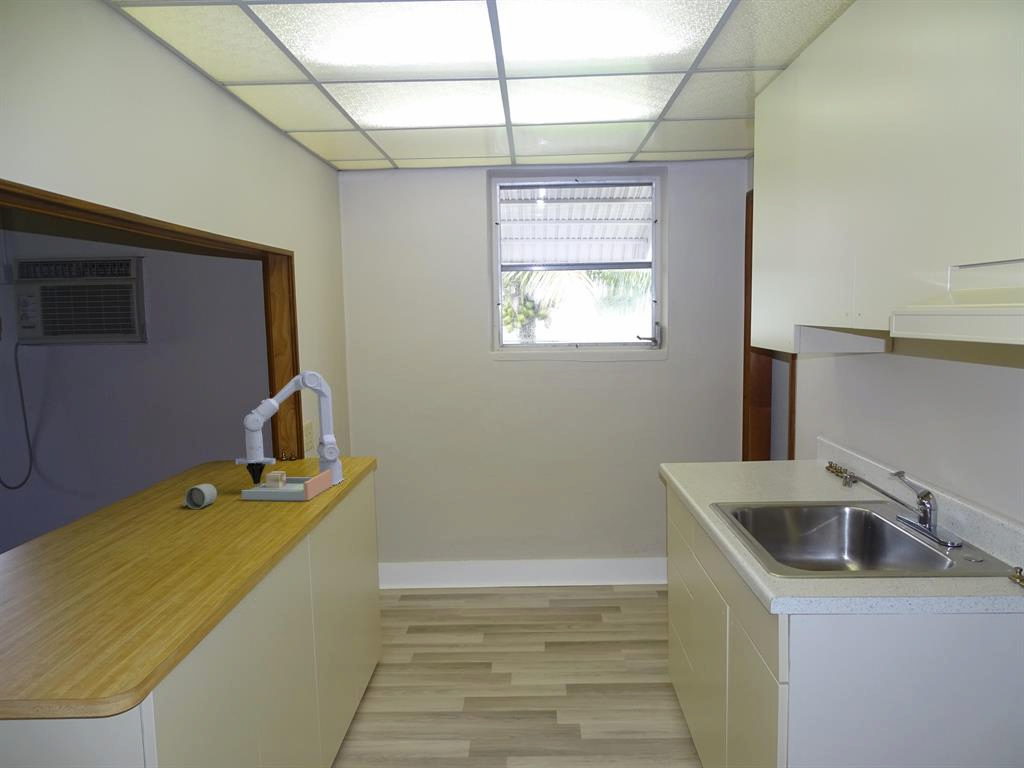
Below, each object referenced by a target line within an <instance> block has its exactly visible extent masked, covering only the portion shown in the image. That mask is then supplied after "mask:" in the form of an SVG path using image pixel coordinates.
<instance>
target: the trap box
mask: <svg viewBox="0 0 1024 768" xmlns="http://www.w3.org/2000/svg"><path fill="white" fill-rule="evenodd" d="M331 486H334V485H333V482H332V470H326V471H325V472H323V473H321V474H320V473H319V474H317V475H316V476H312V477H310V476H302V477H301V476H286V485H285V486H283V487H281V488H266V482H265V483H264V482H263V483H260V484H258V485H257V486H254V487H252V488H251V489H242V490H241V501H242V500H259V501H258V502H301V501H308V502H310V501H312V500H313V499H315V498H316V496H317V495H318V496H320V495H321V493H322V492H323V493H325V492H326V491H328V490H329V489H328V488H330V487H331ZM331 488H332V487H331ZM331 488H330V489H331ZM327 489H328V490H327ZM325 490H326V491H325ZM324 491H325V492H324ZM323 493H322V494H323ZM319 494H320V495H319ZM318 496H317V497H318ZM314 497H315V498H314ZM312 498H313V499H312ZM311 499H312V500H311ZM260 500H262V501H260ZM309 500H310V501H309Z"/></svg>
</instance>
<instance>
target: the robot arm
mask: <svg viewBox="0 0 1024 768" xmlns="http://www.w3.org/2000/svg"><path fill="white" fill-rule="evenodd" d="M305 389H309V390H310V391H312V392H313V393H315V394H316V395H317V405H318V406H317V407H318V421H319V438H318V441H319V442H318V445H317V448H316V451H317V454H318V456H320V457H319V458H318V466H319V467H318V470H319V471H318V472H319V474H321V473H323V472H325V471H326V470H332V482H333V486H336V485H338V484H340V483H341V482H343V481H344V479H346V478H343V464H342V461H341V460H340V459H339V456H340V449H339V447H338V445H337V440H336V438H335V434H334V418H333V403H332V390H331V388H330V386H329V384H328V383H327V382H326V380H325V379H324V378H323V376H322V375H321V374H319V373H318V372H315V371H313V370H312V371H311V370H307V369H305V370H303V371H301V372H300V373H299V374H298V375H295V376H294V377H293V378H292V379H290V381H289V382H288V383H287V384H285V385H284V387H282V389H280V390H279V391H278V393H277V394H275V396H273V397H272V398H266V399H263V400H261V401H260V405H258V406H257V407H256V408H255V409H252V410H251V413H249V414H247V415H246V416H245V417H244V418H243V419H244V420H243V426H244V428H245V448H246V457H241V458H240V457H239V458H238V457H237V458H236V459H235V465H246V466H245V468H246V471H248V473H249V474H250V476H251V479H252V482H253V485H260V484H261V478H262V475H263V472H264V470H265V467H266V465H271V466H272V465H275V464H277V463H276V458H275V457H274V458H272V457H265V456H264V442H263V433H262V428H263V427H264V423H265V422H267V421H268V420H270V418H272V417H273V415H275V414H276V413H277V412H278V411H279V409H280V408H279V407H280V404H282V403H283V402H284V401H285V400H287V399H288V398H289V397H290V396H291V395H293V394H294V393H295V392H296V391H300V390H305ZM342 480H343V481H342ZM339 482H340V483H339Z"/></svg>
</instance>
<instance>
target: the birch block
mask: <svg viewBox="0 0 1024 768" xmlns="http://www.w3.org/2000/svg"><path fill="white" fill-rule="evenodd" d="M286 477H287V476H286V471H282V470H281V471H277V470H276V471H273V470H272V471H270V472H269V473H266V474H265V483H266V488H281V487H283V486H285V485H286Z"/></svg>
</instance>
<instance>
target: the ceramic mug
mask: <svg viewBox="0 0 1024 768" xmlns="http://www.w3.org/2000/svg"><path fill="white" fill-rule="evenodd" d="M217 496H218V490H217V489H216V487H215V485H213V484H211V483H202V484H198V485H194V486H191V487H189V488H188V489H187V490H186V492H185V494H184V500H183V501H182V507H187V506H188V507H189V508H191V509H193V510H200V509H202V508H205V507H206V506H208V505H210V504H213V502H215V500H216V499H217Z"/></svg>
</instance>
